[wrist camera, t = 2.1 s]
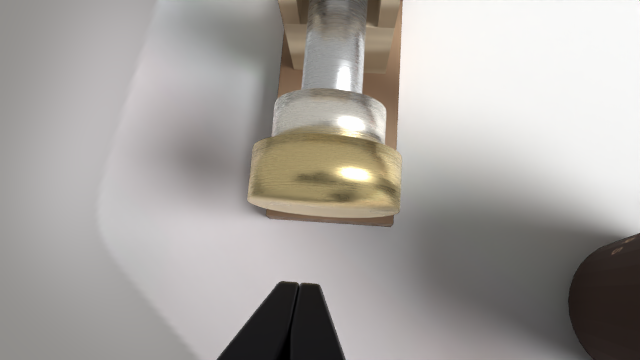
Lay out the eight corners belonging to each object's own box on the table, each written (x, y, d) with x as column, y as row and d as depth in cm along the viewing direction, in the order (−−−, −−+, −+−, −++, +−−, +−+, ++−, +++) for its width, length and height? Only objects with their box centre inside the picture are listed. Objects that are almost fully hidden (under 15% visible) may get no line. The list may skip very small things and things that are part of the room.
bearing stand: (390, 226, 23) (429, 184, 12) (269, 218, 23) (210, 170, 13) (400, -10, 25) (439, -205, 15) (292, -14, 26) (258, -207, 15)
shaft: (391, 221, 18) (410, 199, 13) (261, 212, 19) (231, 187, 14) (400, 19, 20) (419, -69, 15) (281, 14, 20) (260, -73, 15)
